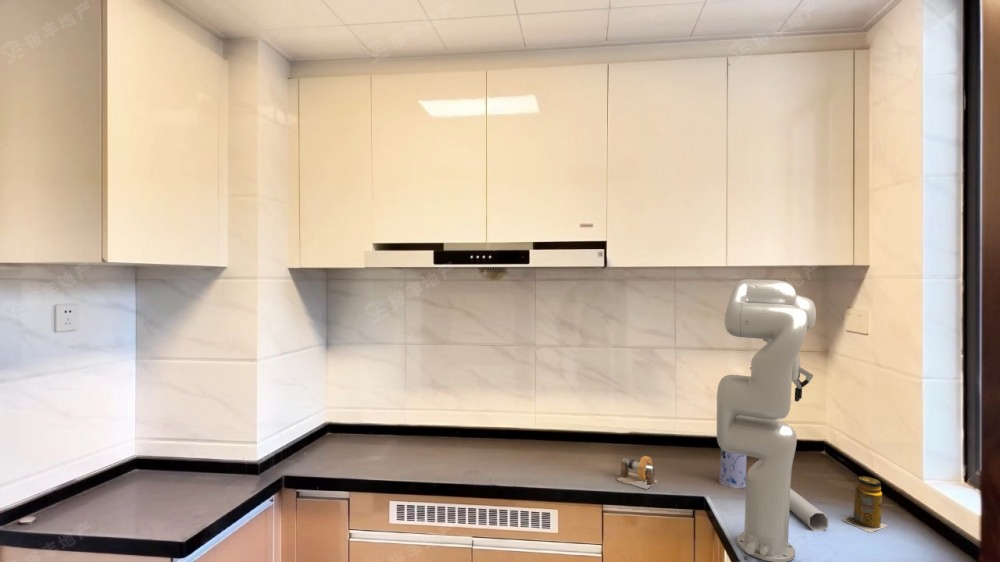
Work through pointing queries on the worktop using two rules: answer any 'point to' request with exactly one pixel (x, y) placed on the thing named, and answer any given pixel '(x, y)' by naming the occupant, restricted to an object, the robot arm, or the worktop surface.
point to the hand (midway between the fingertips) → (779, 397)
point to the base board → (635, 475)
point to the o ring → (643, 467)
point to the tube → (807, 512)
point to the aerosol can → (733, 469)
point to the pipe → (636, 465)
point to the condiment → (867, 505)
